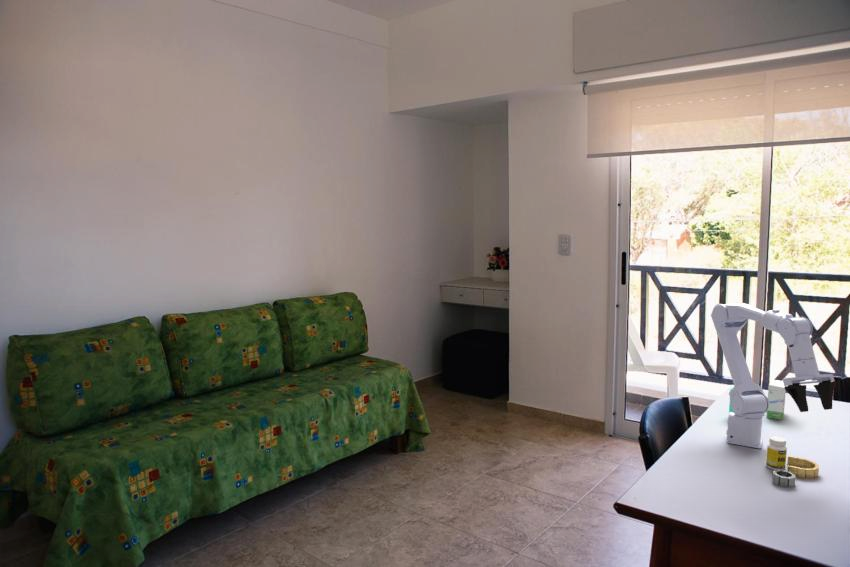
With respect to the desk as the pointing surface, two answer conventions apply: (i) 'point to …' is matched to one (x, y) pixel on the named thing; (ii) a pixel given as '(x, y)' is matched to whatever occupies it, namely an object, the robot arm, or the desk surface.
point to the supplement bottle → (776, 453)
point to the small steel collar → (783, 478)
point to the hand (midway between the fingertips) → (816, 410)
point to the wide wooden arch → (807, 470)
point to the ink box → (776, 399)
